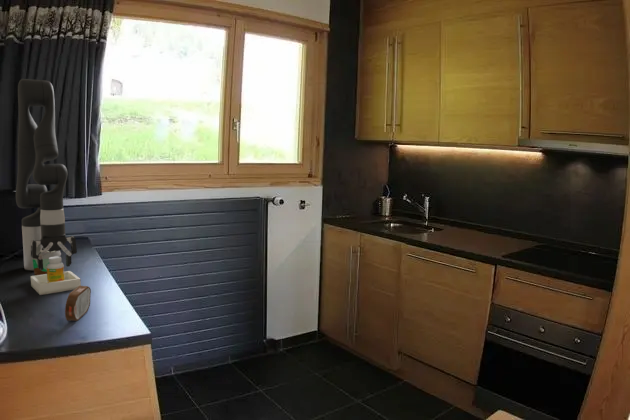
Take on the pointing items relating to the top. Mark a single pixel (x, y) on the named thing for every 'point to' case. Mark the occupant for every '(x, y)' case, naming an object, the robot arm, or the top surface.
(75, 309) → the tin
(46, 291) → the tray
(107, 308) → the top surface
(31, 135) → the robot arm
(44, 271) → the ice cream tub
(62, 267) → the supplement bottle
